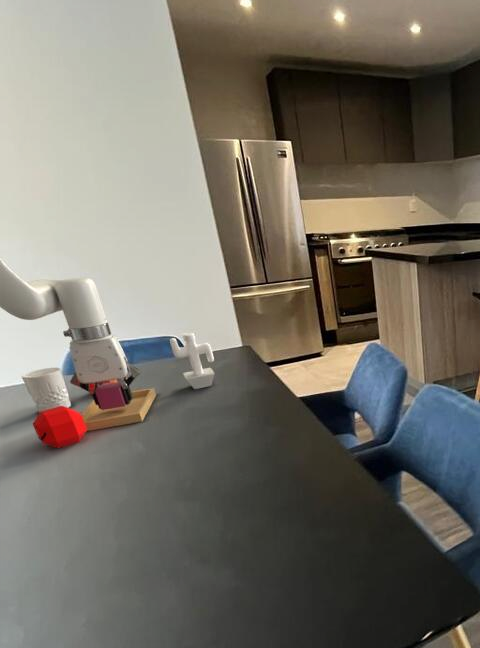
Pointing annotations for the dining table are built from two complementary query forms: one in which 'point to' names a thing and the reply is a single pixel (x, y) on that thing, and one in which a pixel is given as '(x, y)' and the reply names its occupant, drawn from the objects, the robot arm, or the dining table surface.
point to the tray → (119, 411)
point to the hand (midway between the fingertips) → (115, 404)
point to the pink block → (110, 396)
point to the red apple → (59, 426)
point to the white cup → (47, 388)
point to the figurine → (195, 360)
